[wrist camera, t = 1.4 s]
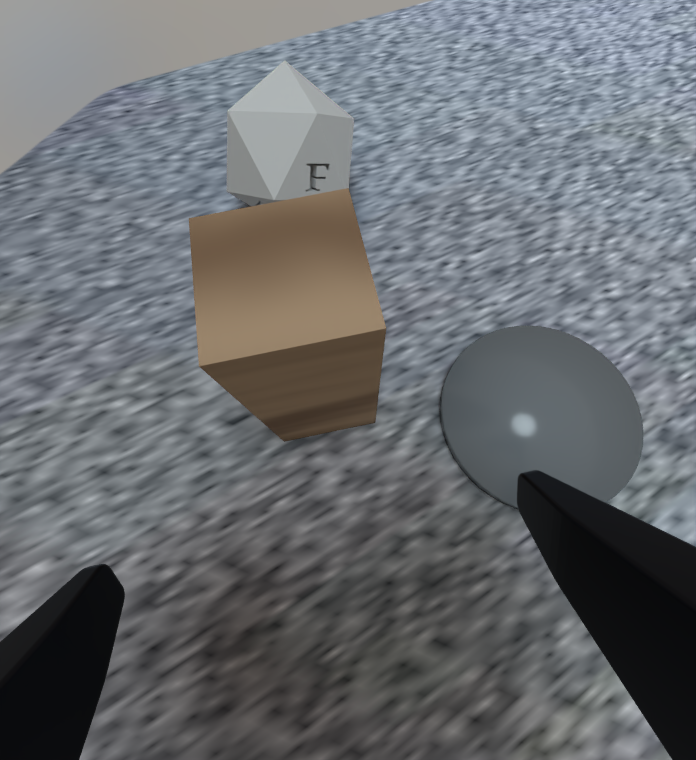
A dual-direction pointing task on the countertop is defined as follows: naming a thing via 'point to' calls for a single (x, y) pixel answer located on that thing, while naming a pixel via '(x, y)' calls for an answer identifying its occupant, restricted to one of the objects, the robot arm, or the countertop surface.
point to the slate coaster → (540, 413)
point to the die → (287, 141)
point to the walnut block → (290, 312)
